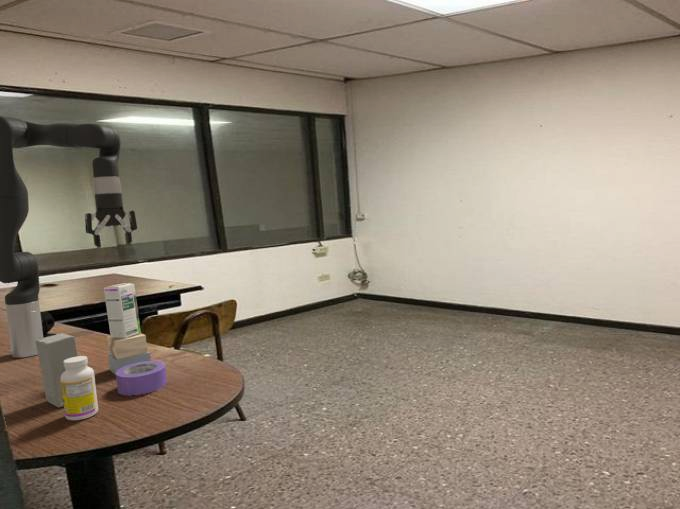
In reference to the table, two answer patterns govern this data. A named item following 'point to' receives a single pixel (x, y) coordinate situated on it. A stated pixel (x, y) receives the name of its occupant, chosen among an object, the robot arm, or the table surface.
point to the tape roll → (141, 378)
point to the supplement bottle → (78, 389)
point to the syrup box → (122, 310)
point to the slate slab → (126, 361)
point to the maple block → (127, 346)
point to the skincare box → (54, 363)
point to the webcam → (47, 324)
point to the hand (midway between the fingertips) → (113, 246)
